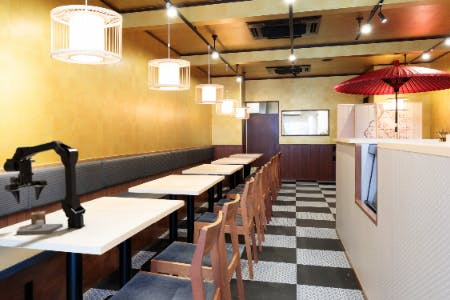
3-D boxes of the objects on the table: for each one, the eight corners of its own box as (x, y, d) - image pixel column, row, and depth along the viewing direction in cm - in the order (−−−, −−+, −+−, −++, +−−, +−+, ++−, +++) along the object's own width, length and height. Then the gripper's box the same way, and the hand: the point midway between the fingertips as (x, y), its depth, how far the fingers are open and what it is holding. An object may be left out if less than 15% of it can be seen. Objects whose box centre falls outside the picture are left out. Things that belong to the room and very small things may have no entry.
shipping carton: (45, 222, 183) (44, 210, 182) (45, 224, 177) (45, 212, 177) (32, 223, 180) (31, 212, 179) (31, 226, 174) (30, 214, 174)
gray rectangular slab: (62, 226, 172) (62, 223, 172) (49, 233, 160) (49, 230, 160) (31, 227, 172) (31, 224, 172) (16, 234, 160) (16, 231, 160)
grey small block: (44, 226, 167) (43, 219, 166) (42, 227, 165) (42, 220, 165) (38, 227, 167) (37, 220, 167) (36, 227, 165) (36, 220, 165)
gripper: (35, 169, 185) (37, 197, 185) (-3, 173, 169) (0, 204, 170) (46, 169, 179) (49, 198, 180) (9, 173, 163) (11, 205, 164)
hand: (27, 201), depth 173 cm, fingers open, 9 cm apart
